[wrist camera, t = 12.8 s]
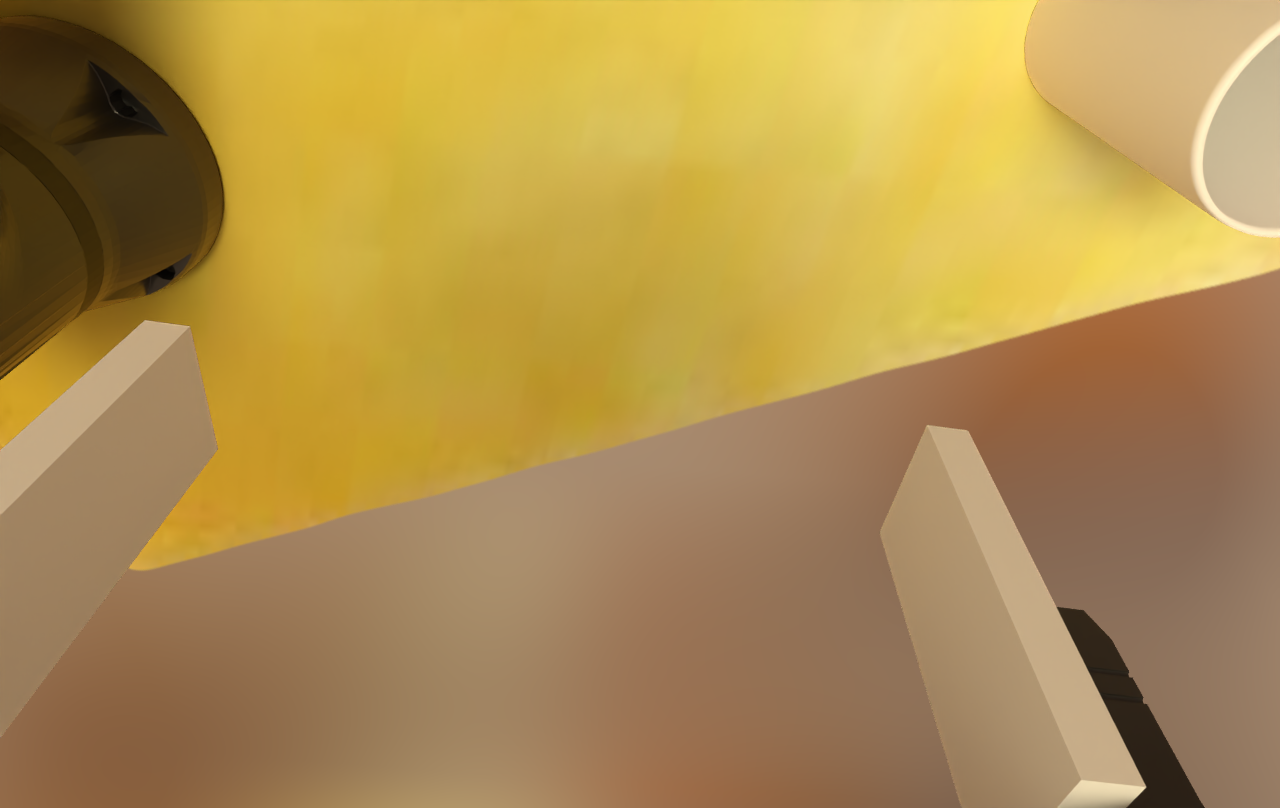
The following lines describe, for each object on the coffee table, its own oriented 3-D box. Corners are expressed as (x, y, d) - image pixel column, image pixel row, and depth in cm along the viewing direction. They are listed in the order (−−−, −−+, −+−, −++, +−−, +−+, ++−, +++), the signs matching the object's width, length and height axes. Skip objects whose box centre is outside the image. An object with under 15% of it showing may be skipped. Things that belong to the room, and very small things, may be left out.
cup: (988, 61, 40) (1141, 166, 27) (1119, -109, 35) (1377, -81, 22) (1106, 142, 42) (1300, 277, 29) (1243, -8, 37) (1544, 70, 24)
